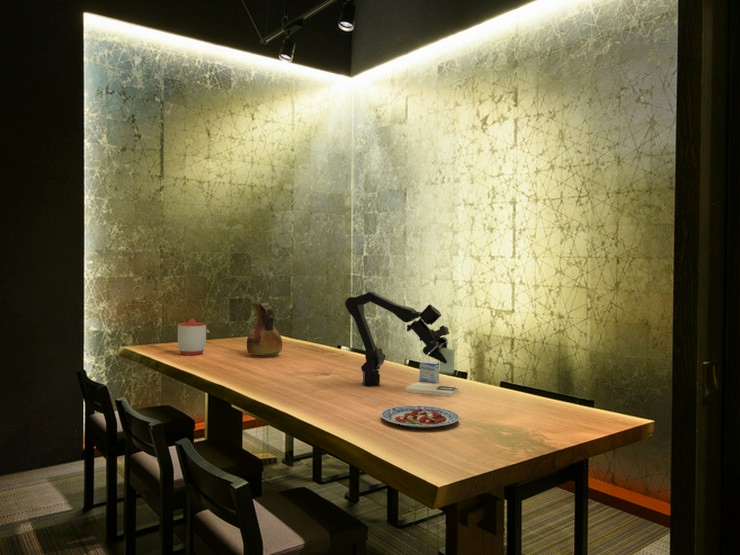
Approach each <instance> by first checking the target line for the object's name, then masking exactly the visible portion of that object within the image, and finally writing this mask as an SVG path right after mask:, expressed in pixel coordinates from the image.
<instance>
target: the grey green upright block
mask: <svg viewBox="0 0 740 555" xmlns="http://www.w3.org/2000/svg"><path fill="white" fill-rule="evenodd" d="M440 351H441V353H442V354H443V356H444V357H445V359H446V360H447V363H446V364H445V363H443V362H441V361H439V374H443V375H453V374H455V348H450V347H449V348H448V347H447V348H441V349H440Z"/></svg>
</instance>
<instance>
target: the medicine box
mask: <svg viewBox="0 0 740 555" xmlns="http://www.w3.org/2000/svg"><path fill="white" fill-rule="evenodd" d="M418 379H419V380H418V381H419V382H423V383H427V384H429V383H430V384H437V383H439V382H440V362H434V361H433V362H432V361H424V360H423V361H420V362H419V378H418Z"/></svg>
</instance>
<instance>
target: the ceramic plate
mask: <svg viewBox="0 0 740 555" xmlns="http://www.w3.org/2000/svg"><path fill="white" fill-rule="evenodd" d="M380 416H381V418H382V419H383V420H385V421H387V422H389V423H393V424H397V425H399V424H400V426H402V425H403V427H407V428H413V429H415V428H416V429H431V428H437V427H442V426H449V425H451V424H454V423H456V422H458V421H459V419H460V416H459V414H457V413H456V412H454V411H452V410H449V409H446V408H442V407H436V406H427V405H401V406H395V407H390V408H387V409H385V410H383V411H382V412H380Z"/></svg>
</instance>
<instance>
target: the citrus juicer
mask: <svg viewBox="0 0 740 555" xmlns="http://www.w3.org/2000/svg"><path fill="white" fill-rule="evenodd" d="M207 326H208V325H207V323H204V322H197V321H196V320H195V319H194V318H190V319H189V320H188V322H182V323H181V322H180V323H177V345H178V349H179V352H180V355H183V356H196V355H197V356H199V355H203V353H204V351H205V347H206V342H207V333H209V334H210V330H209V329H207Z"/></svg>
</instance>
